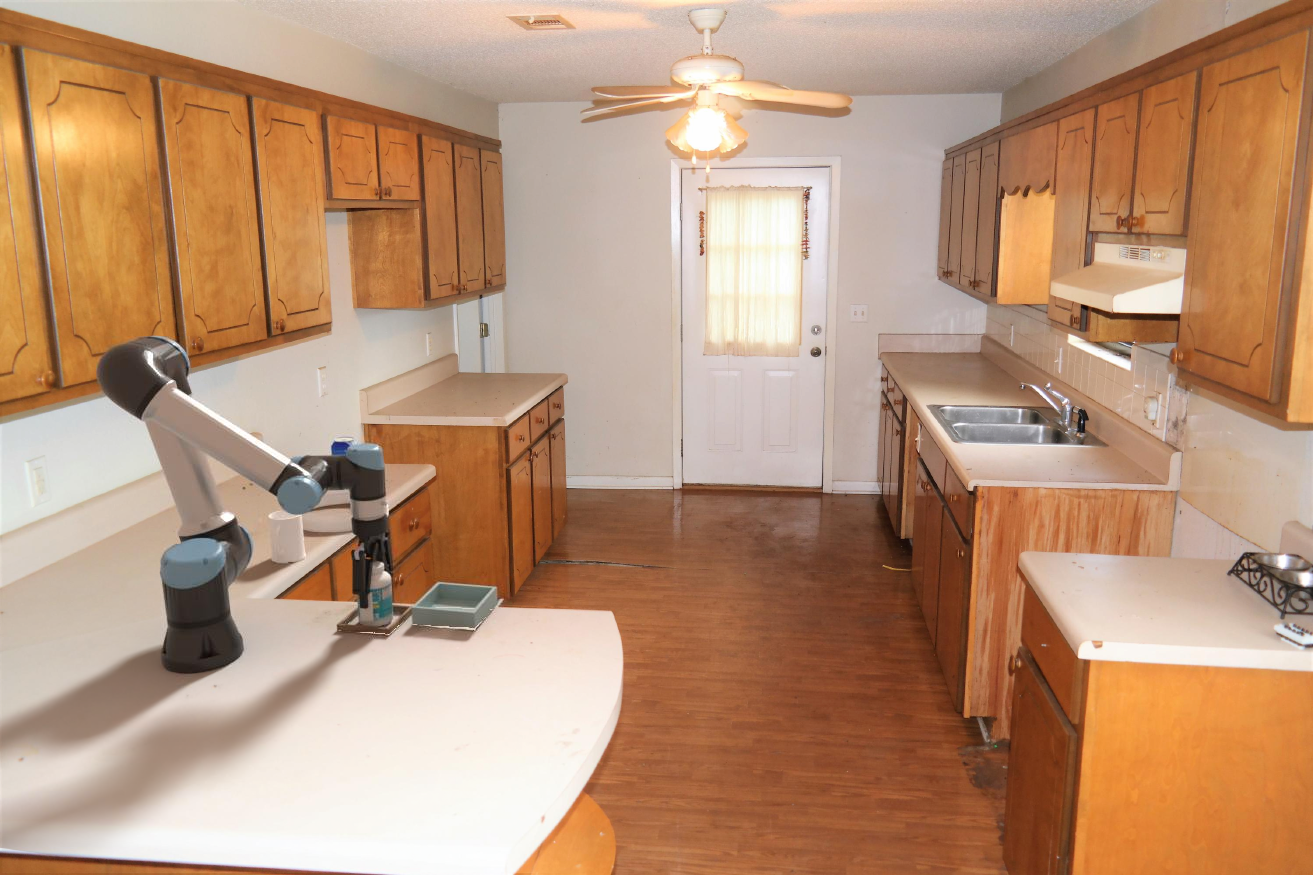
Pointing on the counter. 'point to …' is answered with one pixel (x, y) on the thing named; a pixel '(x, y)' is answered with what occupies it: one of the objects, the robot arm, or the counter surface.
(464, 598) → the bin
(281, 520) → the mug
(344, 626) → the frame
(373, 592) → the pill bottle
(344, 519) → the white hollow ring
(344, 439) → the beer can
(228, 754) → the counter surface
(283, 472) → the robot arm
